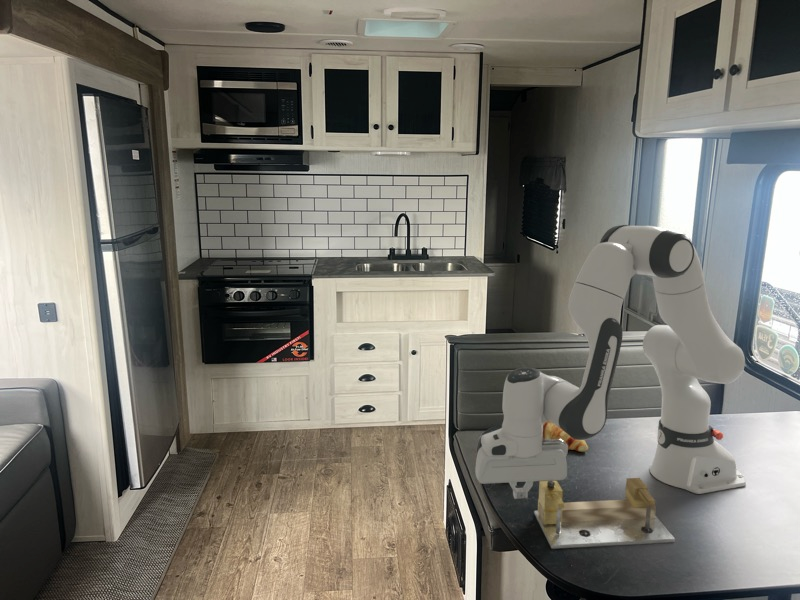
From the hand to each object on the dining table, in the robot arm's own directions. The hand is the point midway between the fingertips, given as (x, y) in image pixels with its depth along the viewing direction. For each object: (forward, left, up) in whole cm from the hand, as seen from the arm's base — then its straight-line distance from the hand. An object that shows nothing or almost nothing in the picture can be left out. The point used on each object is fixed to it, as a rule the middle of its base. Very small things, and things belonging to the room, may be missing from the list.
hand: (520, 497), depth 133 cm
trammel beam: (-18, +2, -6) cm, 19 cm away
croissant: (-21, -39, -7) cm, 45 cm away
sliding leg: (-7, +2, -6) cm, 9 cm away
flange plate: (-18, +3, -7) cm, 19 cm away
